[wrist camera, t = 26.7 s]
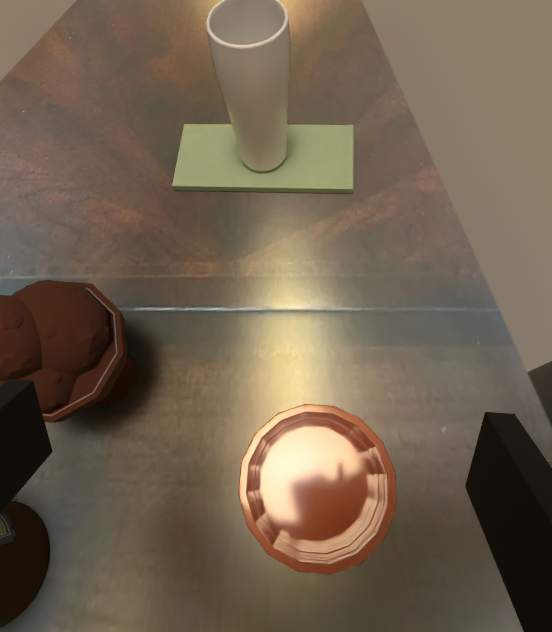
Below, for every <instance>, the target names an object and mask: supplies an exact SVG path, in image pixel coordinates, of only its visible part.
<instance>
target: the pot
mask: <svg viewBox="0 0 552 632" xmlns="http://www.w3.org/2000/svg"><path fill="white" fill-rule="evenodd" d="M238 493H239V498H240V502H241V506H242V509H243V513H244V517H245V520H246V524H247V526H248V528H249V530H250V531H251V532H252V534H253V535H254V536H255V538H256V539H257V541H258V542H259V543H260V545H261V546H262V547H263V549H264V550H265V551H266V553H267V554H268V555H270V556H271V557H273V558H275V559H277V560H278V561H280V562H282V563H283V564H285V565H287V566H288V567H290V568H292V569H294V570H295V571H298V572H307V573H317V574H327V575H330V574H334V573H337V572H339V571H342V570H345V569H347V568H350V567H353V566H355V565H358V564H360V563H362V562H363V561H364V560H365V559H366V558H367V557H368V556H369V555H370V554H371V553H372V552H373V551H374V550H375V549H376V548H377V547H378V545H379V544H380V543H381V542H382V541H383V540H384V538H385V537H386V534H387V532H388V529H389V526H390V523H391V521H392V518H393V515H394V512H395V510H396V474H395V470H394V468H393V466H392V463H391V461H390V458H389V456H388V453H387V451H386V449H385V446H384V444H383V443H382V441H381V440H380V439H379V438H378V436H377V435H376V434H375V433H374V432H373V431H372V430H371V429H370V428H369V427H368V426H367V425H366V424H365V423H364V421H363V420H361V419H360V418H358V417H356V416H354V415H352V414H350V413H348V412H346V411H343V410H341V409H339V408H337V407H335V406H328V405H311V404H304V405H301V406H298V407H295V408H292V409H289V410H287V411H284V412H281V413H278V414H277V415H275V416H274V417H273V418H272V419H271V420H270V421H269V422H268V423H266V424H265V425H264V426H263V427H262V428H261V429H260V430H259V431H258V432H256V434H255V435H254V437H253V439H252V441H251V443H250V445H249V447H248V449H247V451H246V453H245V455H244V457H243V459H242V462H241V471H240V482H239V492H238Z"/></svg>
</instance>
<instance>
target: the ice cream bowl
mask: <svg viewBox="0 0 552 632" xmlns="http://www.w3.org/2000/svg"><path fill="white" fill-rule="evenodd" d="M9 379H17V380H32V381H33V382H34V385H35V389H36V393H37V396H38V400H39V404H40V407H41V411H42V415H43V419H44V422H50V423H52V422H60V421H64V420H66V419H67V418H69V417H71V416H73V415H75V414H76V413H78V412H80V411H82V410H84V409H85V408H87V407H89V406H91V405H93V404H94V403H100V404H111V403H112V402H114V401H116V400H118V399H120V398H121V397H123V396H125V395H126V394H127V392H128V391H129V389H130V387H131V385H132V383H133V382H134V380H135V367H134V360H133V359H132V358H131V357H130V356H128V355H127V348H126V335H125V322H124V318H123V316H122V314H121V312H120V310H119V309H118V308H117V307H116V306H115V305H114V304H113V303H111V302H110V301H109V300H108V299H107V298H106V297H105V296H104V295H103V294H102V293H101V292H100V291H99V290H98V289H97V288H96V287H95V286H94V285H93V284H87V283H74V282H60V281H51V280H45V281H38V282H36V283H34V284H31V285H28V286H26V287H25V288H23V289H21V290H19V291H17V292H15V293H14V294H13V295H12V296H7V295H0V386H1V385H2V384H4V383H5V382H6V381H7V380H9Z"/></svg>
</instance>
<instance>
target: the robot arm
mask: <svg viewBox="0 0 552 632" xmlns="http://www.w3.org/2000/svg"><path fill="white" fill-rule="evenodd" d="M51 453H52V448H51V444H50V441H49V437H48V433H47V430H46V426H45V422H44V419H43V415H42V411H41V407H40V404H39V400H38V396H37V393H36V389H35V385H34V382H33V381H32V380H17V379H9V380H7V381H6V382H5V383H4V384H2V385H1V386H0V513H1V512H2V511H3V510H4V508H5V507H6V506H7V505H8V504H9V503H10V501H11V500H12V499H13V498H14V497H15V495H16V494H17V493H18V492H19V491H20V489H21V488H22V487H23V486H24V485H25V484H26V482H27V481H28V480H29V479H30V478H31V476H32V475H33V474H34V473H35V472H36V471H37V469H38V468H39V467H40V466H41V465H42V463H43V462H44V461H45V460H46V459H47V458H48V456H49V455H50V454H51ZM465 488H466V490H467V493H468V495H469V498H470V500H471V503H472V505H473V507H474V510H475V512H476V515H477V517H478V520H479V522H480V525H481V527H482V530H483V532H484V535H485V537H486V540H487V542H488V544H489V547H490V549H491V552H492V554H493V557H494V559H495V562H496V564H497V567H498V569H499V572H500V574H501V577H502V579H503V582H504V584H505V586H506V589H507V591H508V594H509V596H510V599H511V601H512V604H513V606H514V609H515V611H516V614H517V616H518V619H519V621H520V623H521V626H522V628H523V631H524V632H552V468H551V467H550V465H549V464H548V462H547V461H546V459H545V458H544V456H543V455H542V453H541V452H540V451H539V449H538V448H537V446H536V445H535V443H534V442H533V440H532V439H531V437H530V436H529V435H528V433H527V432H526V430H525V429H524V427H523V426H522V424H521V423H520V421H519V420H518V418H517V417H516V416H515V414H507V413H492V412H485V415H484V418H483V422H482V426H481V430H480V433H479V437H478V441H477V445H476V448H475V452H474V456H473V459H472V463H471V467H470V471H469V474H468V478H467V482H466V486H465Z"/></svg>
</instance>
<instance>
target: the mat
mask: <svg viewBox="0 0 552 632" xmlns="http://www.w3.org/2000/svg"><path fill="white" fill-rule="evenodd" d="M353 140H354V125H287V154H286V157H285V159H284V161H283V162H282V163H281V164H280V165H279V166H278V167H276V168H275V169H272V170H269V171H256V170H253V169H250V168H249V167H247V166H246V165H245V164H244V163H243V161H242V160H241V157H240V153H239V149H238V144H237V141H236V137H235V134H234V131H233V128H232V124H184V128H183V133H182V138H181V143H180V148H179V153H178V159H177V164H176V169H175V174H174V179H173V184H172V187H173V189H174V190H189V191H242V192H295V193H348V194H352V193H353Z"/></svg>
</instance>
